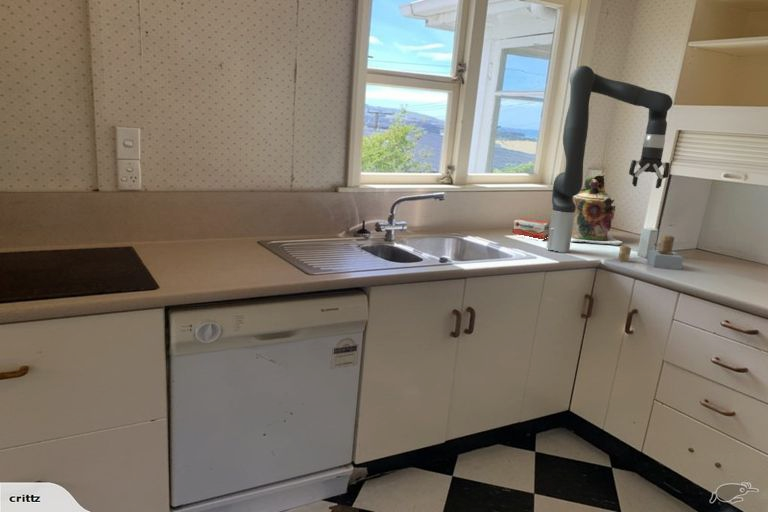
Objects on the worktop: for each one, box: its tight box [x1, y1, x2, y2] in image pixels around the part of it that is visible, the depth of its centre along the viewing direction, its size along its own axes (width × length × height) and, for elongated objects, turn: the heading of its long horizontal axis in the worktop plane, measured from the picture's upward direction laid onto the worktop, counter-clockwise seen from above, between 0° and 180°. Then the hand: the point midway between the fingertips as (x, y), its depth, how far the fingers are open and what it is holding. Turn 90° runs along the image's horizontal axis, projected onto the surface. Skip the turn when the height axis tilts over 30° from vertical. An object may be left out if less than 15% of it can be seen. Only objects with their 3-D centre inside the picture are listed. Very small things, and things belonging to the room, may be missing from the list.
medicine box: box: [511, 218, 550, 239], centre depth 259 cm, size 15×8×8 cm, turn 57°
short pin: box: [617, 244, 632, 263], centre depth 223 cm, size 3×3×6 cm
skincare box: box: [637, 227, 659, 259], centre depth 233 cm, size 6×4×12 cm
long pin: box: [659, 234, 675, 255], centre depth 219 cm, size 3×3×12 cm
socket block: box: [646, 249, 684, 271], centre depth 220 cm, size 10×10×5 cm
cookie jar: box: [571, 172, 623, 246], centre depth 261 cm, size 25×25×32 cm
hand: (646, 187), depth 220 cm, fingers open, 8 cm apart
